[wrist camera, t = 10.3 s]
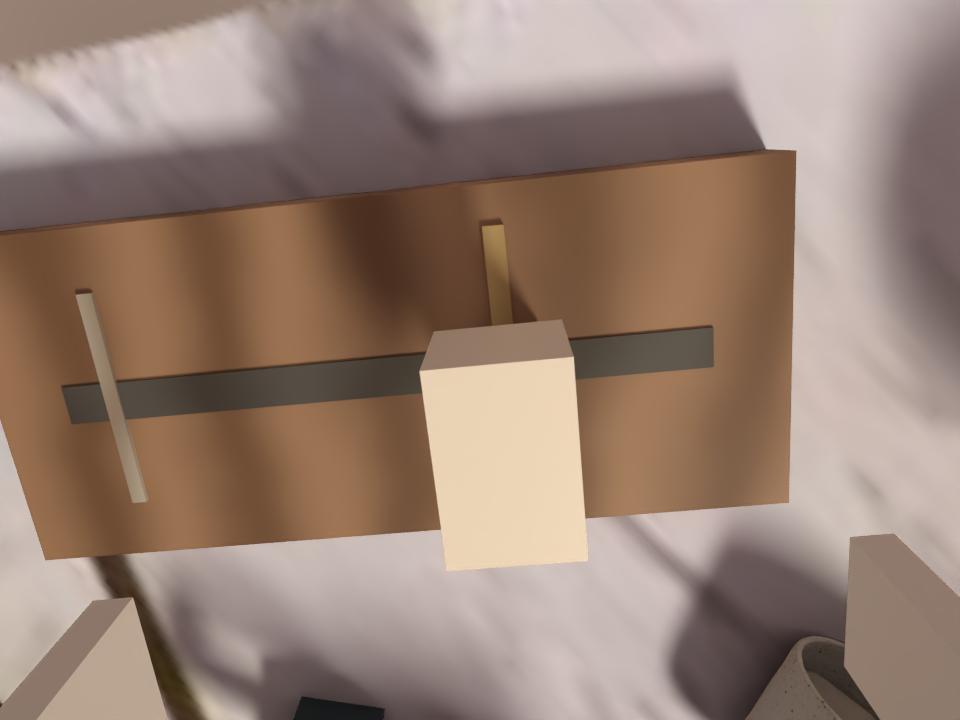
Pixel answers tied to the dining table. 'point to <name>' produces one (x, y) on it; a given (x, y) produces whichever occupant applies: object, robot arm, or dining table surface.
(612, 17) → the dining table surface
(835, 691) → the ceramic mug
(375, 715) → the watch
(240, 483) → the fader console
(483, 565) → the fader knob
